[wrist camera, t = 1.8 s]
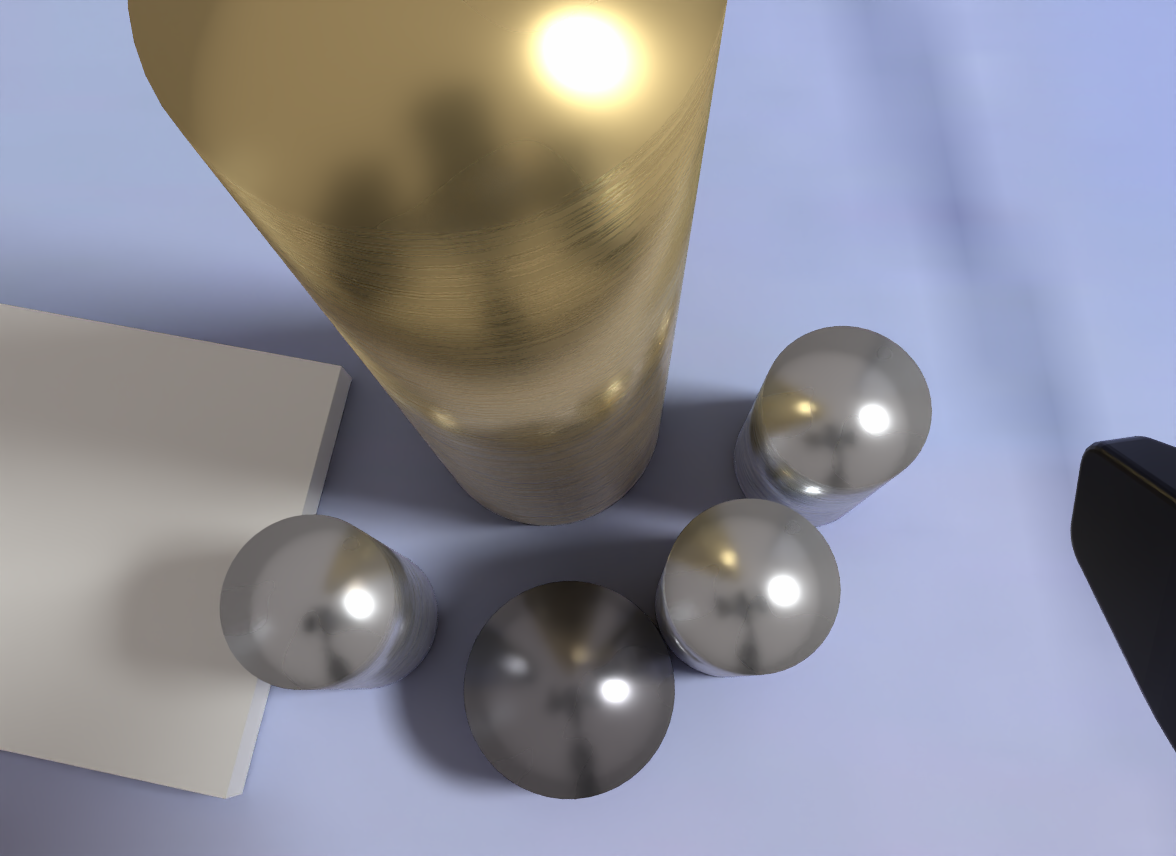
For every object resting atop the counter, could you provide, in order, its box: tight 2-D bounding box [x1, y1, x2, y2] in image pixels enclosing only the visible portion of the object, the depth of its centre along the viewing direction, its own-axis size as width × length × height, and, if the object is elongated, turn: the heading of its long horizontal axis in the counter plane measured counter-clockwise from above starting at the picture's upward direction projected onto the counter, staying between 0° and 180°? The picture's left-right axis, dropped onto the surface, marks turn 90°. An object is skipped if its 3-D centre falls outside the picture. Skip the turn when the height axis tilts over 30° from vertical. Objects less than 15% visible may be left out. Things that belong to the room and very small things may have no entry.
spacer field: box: [220, 326, 932, 799], centre depth 17 cm, size 8×10×4 cm
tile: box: [0, 304, 352, 799], centre depth 19 cm, size 8×8×1 cm
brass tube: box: [128, 0, 727, 525], centre depth 14 cm, size 4×4×13 cm
